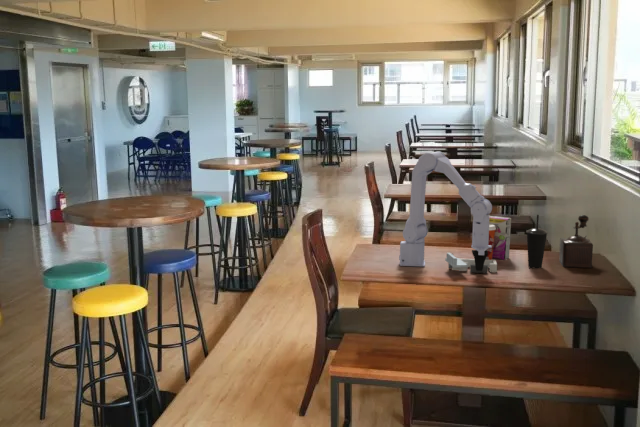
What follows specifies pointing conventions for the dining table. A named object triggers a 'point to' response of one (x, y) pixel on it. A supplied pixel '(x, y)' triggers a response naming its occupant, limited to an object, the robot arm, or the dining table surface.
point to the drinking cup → (536, 246)
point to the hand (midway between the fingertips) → (479, 270)
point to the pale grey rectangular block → (490, 263)
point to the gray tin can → (473, 268)
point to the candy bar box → (501, 237)
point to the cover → (454, 261)
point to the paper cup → (491, 240)
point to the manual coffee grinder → (576, 248)
